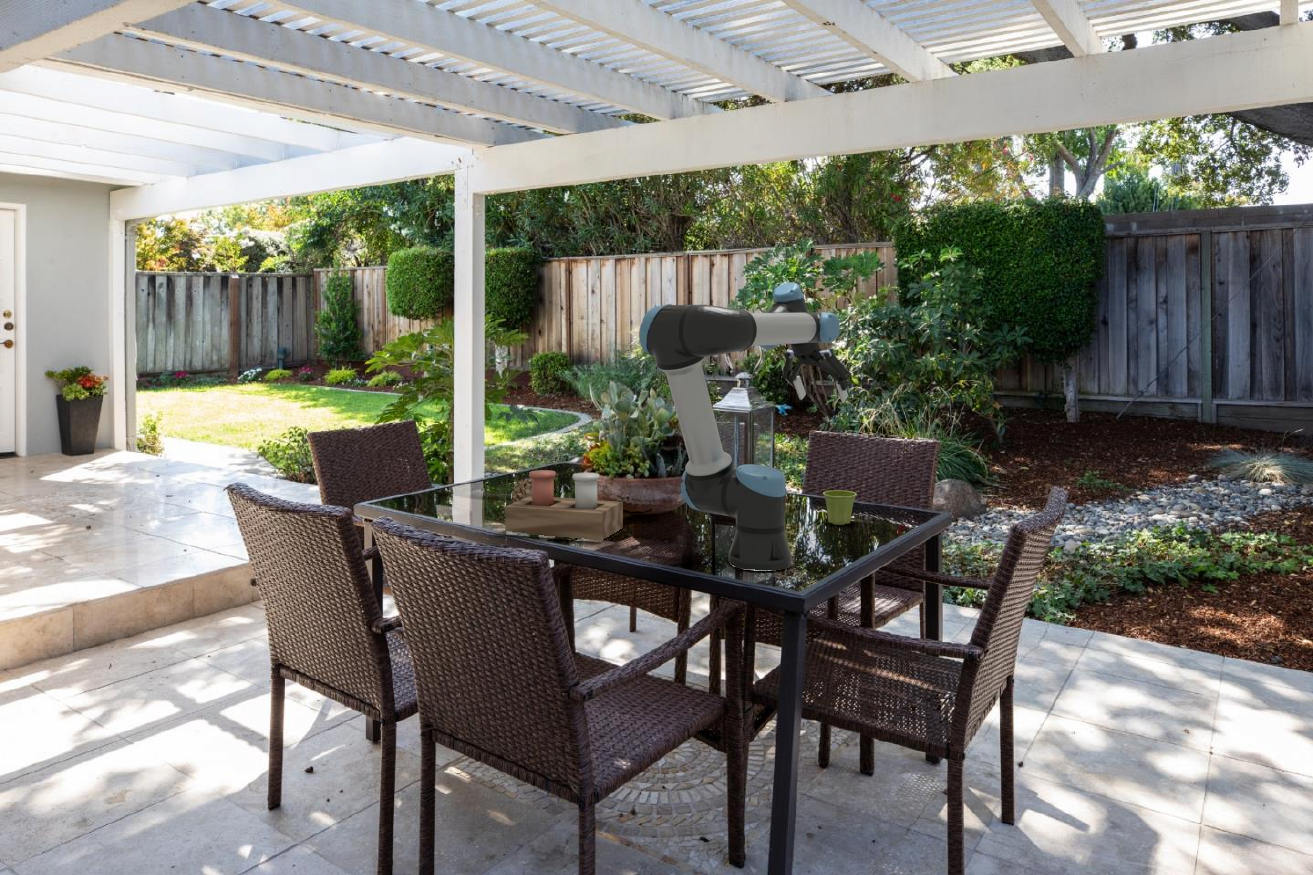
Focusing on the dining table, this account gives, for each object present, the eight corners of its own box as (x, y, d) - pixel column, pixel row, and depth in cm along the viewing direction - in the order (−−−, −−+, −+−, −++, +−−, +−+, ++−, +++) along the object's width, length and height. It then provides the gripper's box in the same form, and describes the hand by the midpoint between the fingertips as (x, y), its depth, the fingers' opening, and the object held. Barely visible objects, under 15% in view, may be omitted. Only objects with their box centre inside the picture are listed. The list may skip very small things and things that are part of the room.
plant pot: (856, 527, 260) (856, 496, 259) (822, 525, 262) (822, 495, 261) (855, 520, 269) (856, 490, 268) (822, 518, 271) (823, 489, 270)
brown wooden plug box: (601, 543, 242) (600, 513, 241) (505, 535, 251) (504, 506, 250) (622, 529, 257) (622, 501, 256) (532, 522, 266) (531, 495, 265)
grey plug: (593, 518, 247) (593, 477, 245) (568, 516, 249) (568, 476, 248) (603, 512, 253) (603, 473, 252) (579, 511, 256) (579, 472, 254)
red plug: (549, 514, 251) (548, 475, 249) (525, 513, 253) (524, 473, 252) (560, 509, 258) (559, 470, 256) (537, 508, 260) (536, 469, 258)
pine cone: (512, 506, 289) (511, 475, 287) (543, 505, 290) (542, 474, 289) (510, 522, 267) (509, 488, 266) (543, 521, 268) (543, 487, 267)
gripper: (848, 327, 245) (868, 391, 256) (769, 328, 261) (791, 388, 272) (836, 344, 240) (857, 407, 251) (757, 343, 257) (780, 403, 268)
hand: (823, 397), depth 262 cm, fingers open, 13 cm apart
